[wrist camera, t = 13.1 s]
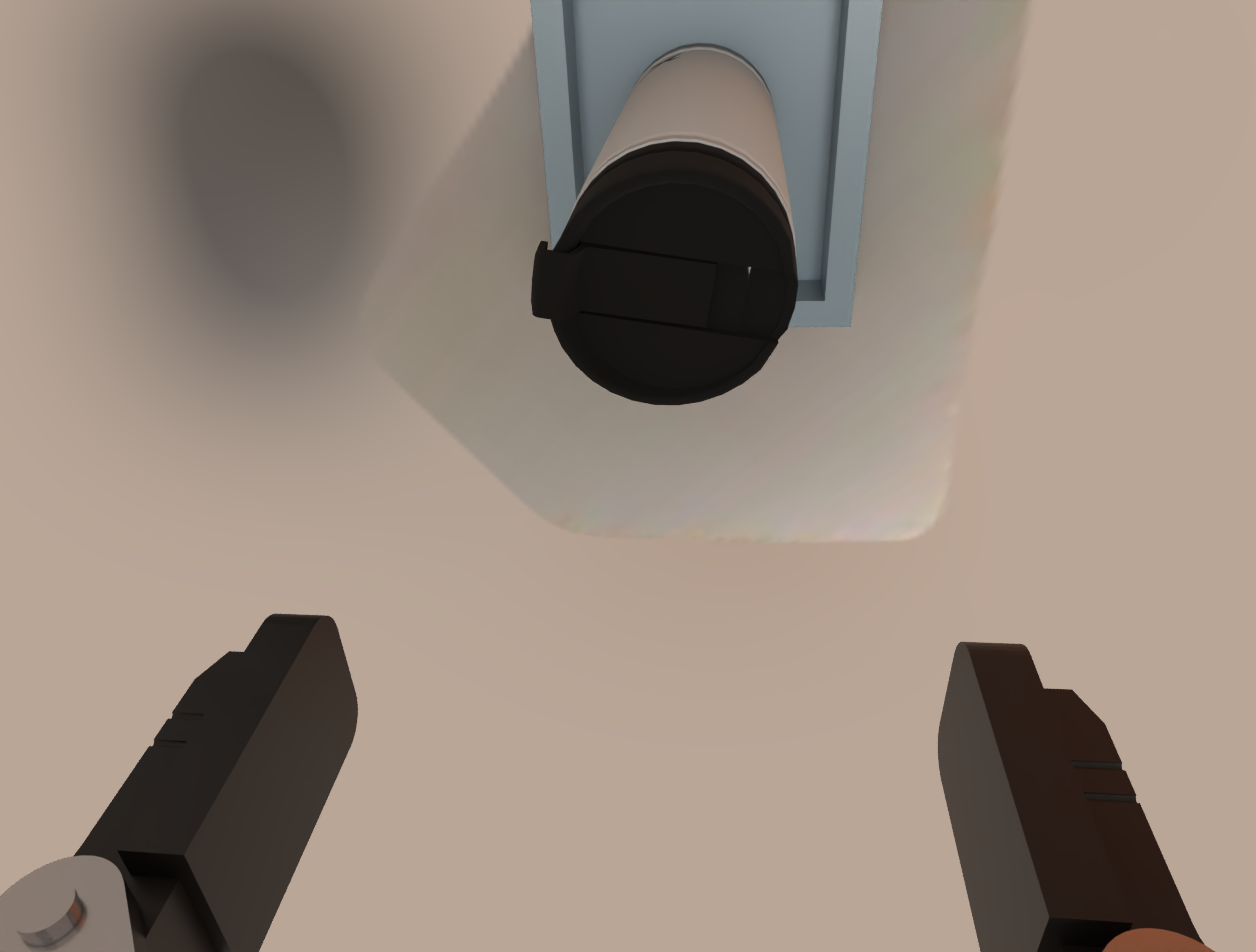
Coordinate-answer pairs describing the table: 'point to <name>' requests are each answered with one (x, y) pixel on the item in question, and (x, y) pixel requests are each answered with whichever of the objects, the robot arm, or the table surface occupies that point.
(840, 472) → the table surface
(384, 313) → the table surface
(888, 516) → the table surface
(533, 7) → the slate tray
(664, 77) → the travel mug
